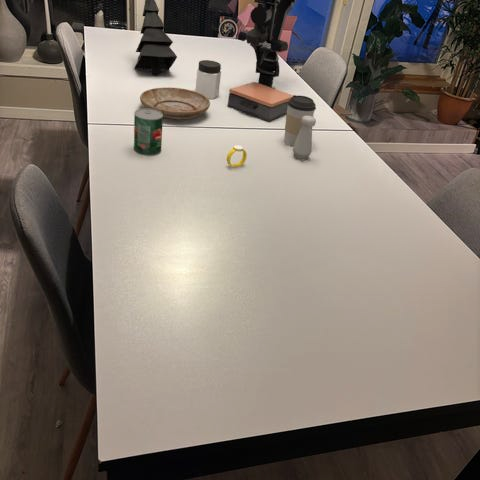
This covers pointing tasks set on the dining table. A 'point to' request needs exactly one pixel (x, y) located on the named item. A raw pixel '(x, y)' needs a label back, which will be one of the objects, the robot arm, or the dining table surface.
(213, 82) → the jar
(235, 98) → the dark grey flat box
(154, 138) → the canned tomato
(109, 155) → the dining table surface
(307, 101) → the coffee cup
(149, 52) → the decorative tree
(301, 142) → the salt shaker
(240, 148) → the gold ring
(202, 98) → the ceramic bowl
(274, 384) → the dining table surface
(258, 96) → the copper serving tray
